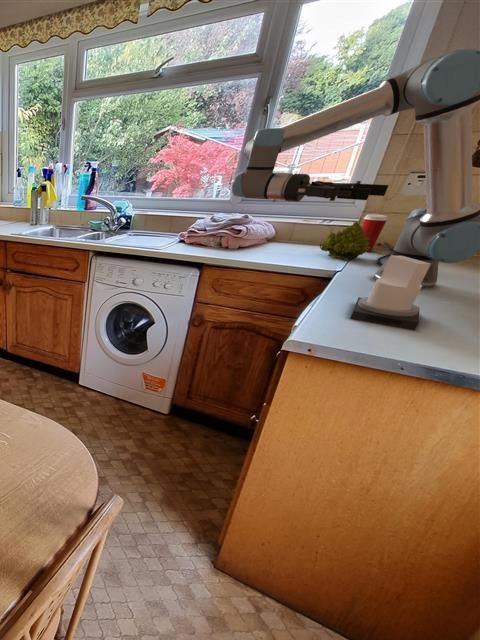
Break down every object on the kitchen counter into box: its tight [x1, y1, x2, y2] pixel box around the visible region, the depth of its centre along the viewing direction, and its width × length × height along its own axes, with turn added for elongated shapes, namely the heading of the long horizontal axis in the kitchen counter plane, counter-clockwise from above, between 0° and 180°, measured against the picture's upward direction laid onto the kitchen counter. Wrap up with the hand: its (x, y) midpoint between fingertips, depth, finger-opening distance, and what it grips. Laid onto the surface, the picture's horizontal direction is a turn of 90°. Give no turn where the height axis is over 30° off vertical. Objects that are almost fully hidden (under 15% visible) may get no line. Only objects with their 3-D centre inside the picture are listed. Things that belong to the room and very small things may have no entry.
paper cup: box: [361, 213, 389, 253], centre depth 181 cm, size 8×8×14 cm
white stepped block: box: [367, 256, 431, 310], centre depth 113 cm, size 9×9×12 cm
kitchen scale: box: [349, 296, 421, 331], centre depth 117 cm, size 15×13×3 cm
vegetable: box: [319, 221, 371, 261], centre depth 172 cm, size 15×16×15 cm
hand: (378, 192), depth 115 cm, fingers open, 13 cm apart
